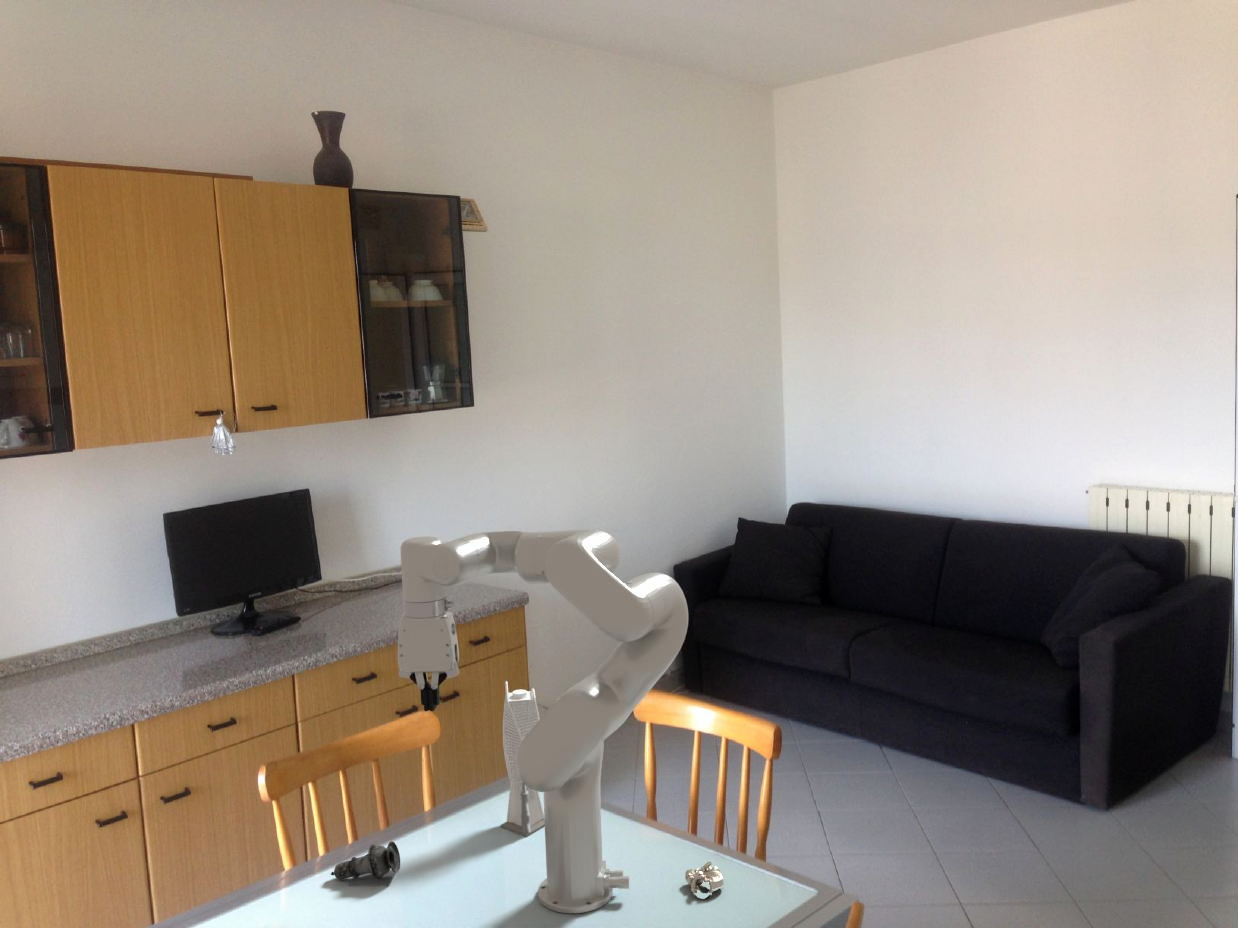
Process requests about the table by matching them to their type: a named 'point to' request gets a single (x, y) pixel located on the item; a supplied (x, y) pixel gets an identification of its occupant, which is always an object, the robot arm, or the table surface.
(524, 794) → the skyscraper
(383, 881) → the grey flat slab
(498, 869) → the table surface
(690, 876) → the ornament
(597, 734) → the robot arm
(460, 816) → the table surface
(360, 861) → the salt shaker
